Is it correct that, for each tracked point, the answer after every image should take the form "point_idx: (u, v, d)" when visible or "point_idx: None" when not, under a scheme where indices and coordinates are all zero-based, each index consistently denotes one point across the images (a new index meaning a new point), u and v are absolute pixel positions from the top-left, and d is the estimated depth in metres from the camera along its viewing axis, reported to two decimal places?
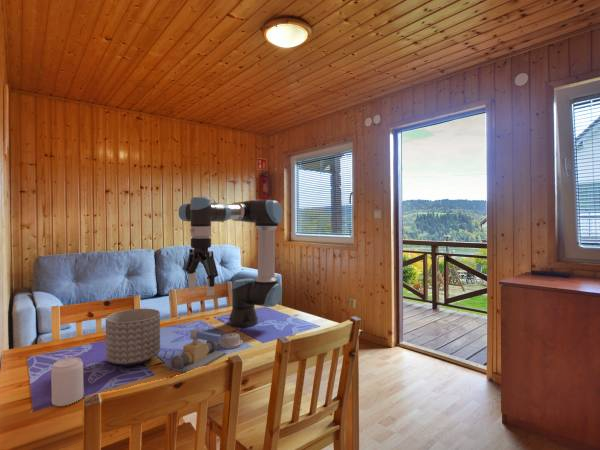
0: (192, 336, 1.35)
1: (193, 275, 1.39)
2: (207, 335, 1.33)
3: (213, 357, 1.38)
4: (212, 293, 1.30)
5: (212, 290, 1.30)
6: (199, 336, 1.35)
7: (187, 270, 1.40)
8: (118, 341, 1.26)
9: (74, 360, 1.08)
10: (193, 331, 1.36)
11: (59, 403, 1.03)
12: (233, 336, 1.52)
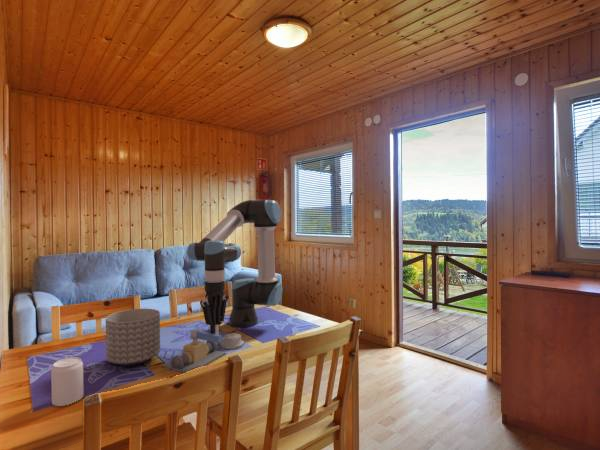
0: (192, 336, 1.35)
1: None
2: (207, 335, 1.33)
3: (213, 357, 1.38)
4: None
5: None
6: (199, 336, 1.35)
7: None
8: (118, 341, 1.26)
9: (74, 360, 1.08)
10: (193, 331, 1.36)
11: (59, 403, 1.03)
12: (234, 336, 1.52)
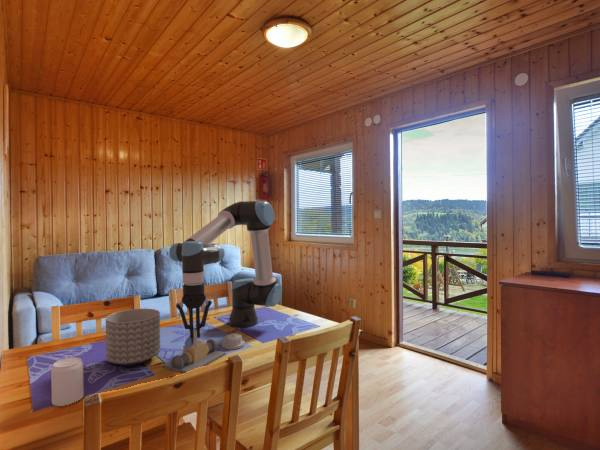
0: None
1: None
2: None
3: (213, 357, 1.38)
4: None
5: None
6: None
7: None
8: (118, 341, 1.26)
9: (74, 360, 1.08)
10: None
11: (59, 403, 1.03)
12: (235, 337, 1.51)
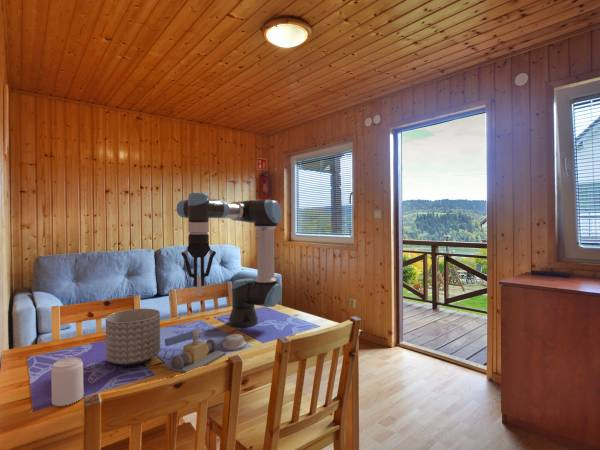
0: None
1: None
2: None
3: (213, 357, 1.38)
4: (197, 293, 1.33)
5: (197, 290, 1.33)
6: None
7: (205, 273, 1.35)
8: (118, 341, 1.26)
9: (74, 360, 1.08)
10: (194, 330, 1.37)
11: (59, 403, 1.03)
12: (236, 337, 1.50)
